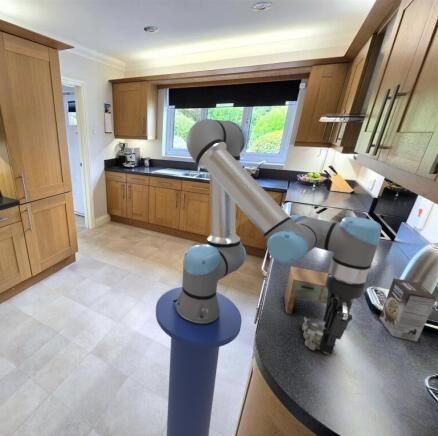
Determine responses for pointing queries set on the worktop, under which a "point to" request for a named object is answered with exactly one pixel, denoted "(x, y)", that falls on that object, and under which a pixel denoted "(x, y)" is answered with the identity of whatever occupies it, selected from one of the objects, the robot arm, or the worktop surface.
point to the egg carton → (312, 334)
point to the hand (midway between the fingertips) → (325, 350)
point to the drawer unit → (306, 287)
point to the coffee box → (406, 309)
